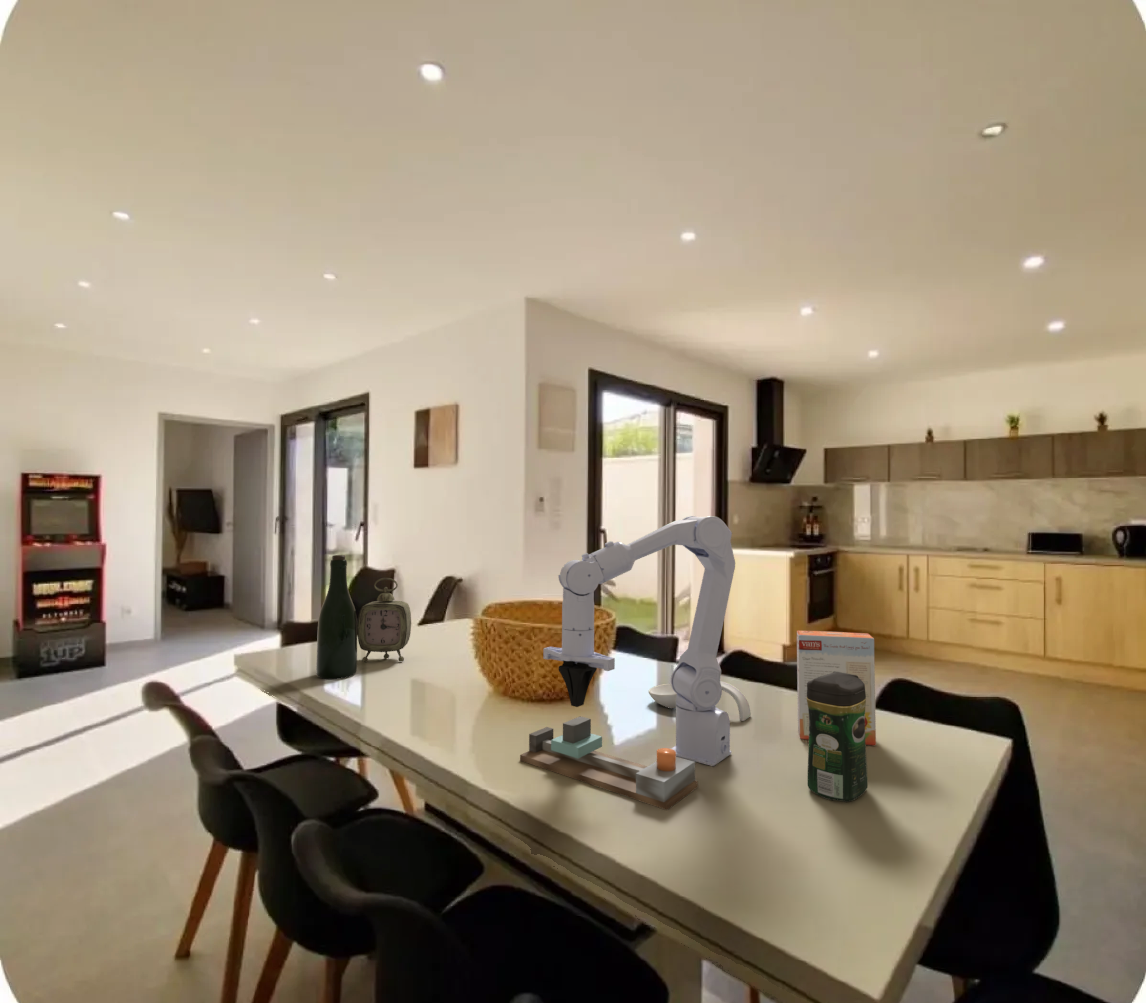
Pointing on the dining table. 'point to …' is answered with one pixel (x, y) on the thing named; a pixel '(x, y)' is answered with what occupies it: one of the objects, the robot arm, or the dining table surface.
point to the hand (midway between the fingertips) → (577, 705)
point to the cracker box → (835, 669)
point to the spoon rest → (668, 697)
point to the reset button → (666, 759)
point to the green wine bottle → (337, 627)
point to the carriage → (576, 738)
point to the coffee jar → (837, 736)
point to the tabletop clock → (384, 624)
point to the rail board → (615, 772)
